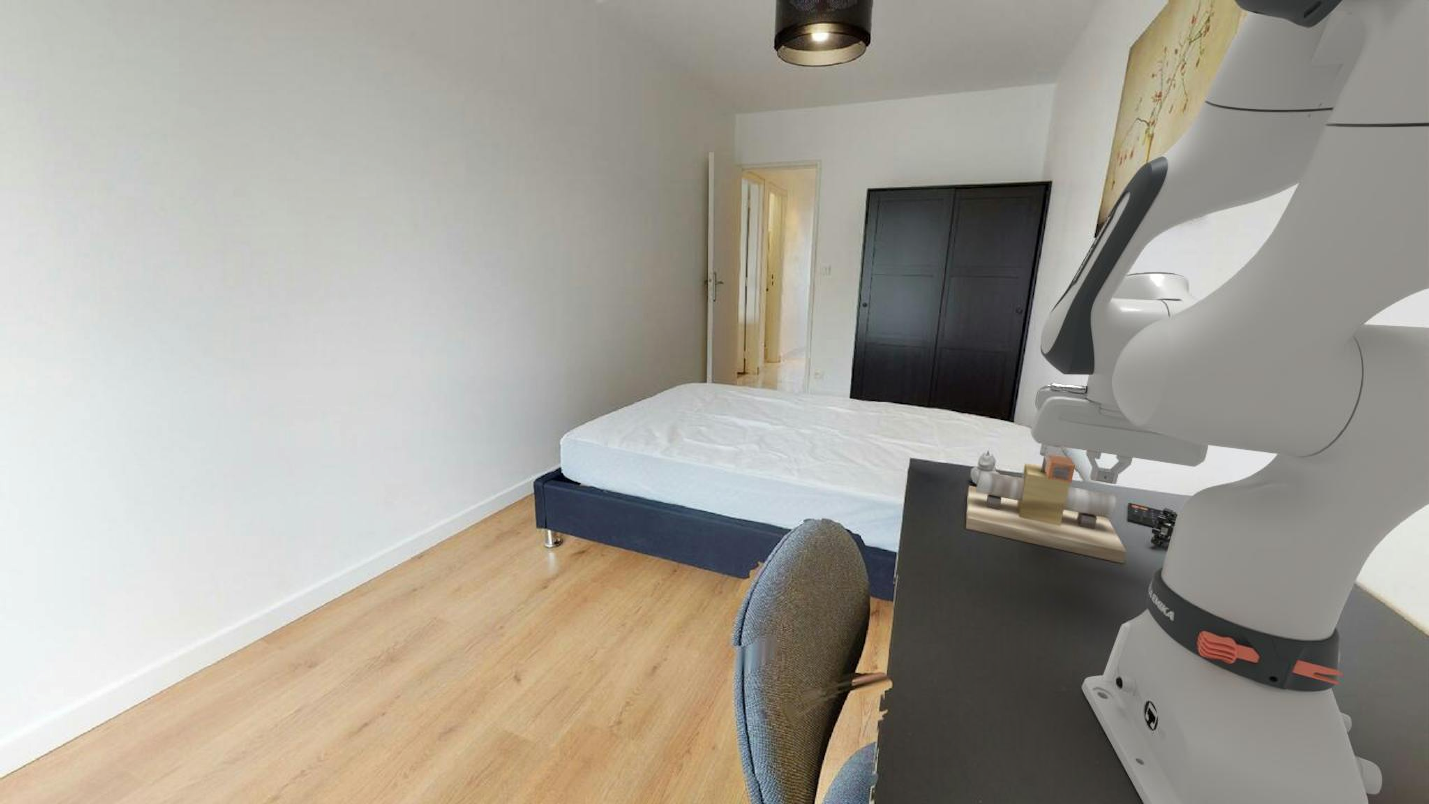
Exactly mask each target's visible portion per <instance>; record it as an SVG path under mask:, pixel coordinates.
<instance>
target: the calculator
mask: <svg viewBox="0 0 1429 804" xmlns="http://www.w3.org/2000/svg"><path fill="white" fill-rule="evenodd" d="M1162 512H1163V510H1162V509H1156V508H1153V507H1149V506H1144V505H1141V504H1136V503H1132V502H1128V504H1127V515H1126V521H1127V523H1131V524H1135V525H1139V526H1142V527H1147V528H1151V529H1153V528H1154V527H1156V526H1157V523H1158V522H1157V521H1156V520H1157V517H1158V515H1161V516H1162V515H1163V514H1162ZM1177 515H1178V513H1176V516H1175V517H1172V516H1171V519H1174V520H1176V519H1177ZM1164 523H1165V522H1164Z"/></svg>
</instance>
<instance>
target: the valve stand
mask: <svg viewBox="0 0 1429 804" xmlns="http://www.w3.org/2000/svg"><path fill="white" fill-rule="evenodd" d="M1045 467H1046V460H1045V458H1044V457H1043V461H1042V464H1041V465H1037V464H1032V463H1024V466H1023V471H1022V472H1023V473H1022V477H1017V476H1011V475H1008V474H1007V475H1005V474H1000V473H999V474H996V473H990V472H984V471H979V475H978V481H977V484H976V486H972V485H968V490H967V496H966V498H967V499H966V500H967V501H966V519H965V520H966V521H965V523H966V524H965V528H966V530H970V531H975V532H981V533H985V534H989V535H994V536H999V537H1002V538H1007V539H1011V540H1016V541H1019V542H1020V541H1021V542H1025V543H1030V544H1034V545H1037V546H1038V545H1039V546H1042V547H1043V546H1044V547H1047V548H1052V549H1056V550H1061V551H1065V552H1070V553H1074V554H1079V555H1084V556H1088V557H1093V558H1096V559H1103V560H1107V561H1110V562H1114V563H1119V564H1124V563H1125V561H1126V557H1127V550H1126V549H1125V547H1124V544H1123V542H1122V541H1121V539H1120V537H1119V536H1118V533H1116V530H1115V529H1114V527H1113V524H1111V522H1110V520H1112V519H1113V518H1114V516H1115V514H1116V509H1117V497H1116V495H1115V493H1114V494H1112V493H1108V492H1101V491H1096V490H1090V489H1085V488H1078V487H1073V486H1070V484H1071V483H1070V482H1065V481H1059V480H1053V479H1048V478H1047V475H1046V472H1045ZM1109 519H1110V520H1109Z"/></svg>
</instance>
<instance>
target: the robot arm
mask: <svg viewBox="0 0 1429 804" xmlns="http://www.w3.org/2000/svg"><path fill="white" fill-rule="evenodd" d="M1234 2H1235V3H1236V4H1237V6H1238V7H1239V9H1242V10H1243V11H1246V12H1247V15H1246V17H1245V18H1244V20H1243V22H1242V23H1241V24H1240V27H1239V28H1238V30H1237V32H1236V34H1235V35H1234V38H1233V39H1232V41H1231V42H1230V45H1229V47H1228V49H1227V51H1226V53H1225V54H1224V56H1223V58H1222V61H1221V63H1220V64H1219V67H1218V69H1217V70H1216V73H1215V75H1214V77H1213V80H1212V82H1211V84H1210V86H1209V89H1208V91H1207V93H1206V96H1205V99H1204V101H1203V103H1202V105H1201V107H1200V108H1199V109H1200V110H1199V111H1198V113H1197V115H1196V116H1195V117H1194V120H1193V121H1192V123H1191V124H1190V125H1189V127H1188V128H1187V130H1185V132H1184V133H1182V135H1181V137H1179V139H1178V140H1177V141H1176V142H1175V143H1174V144H1173V145H1172V146H1171V147H1170V148H1169V149H1168V150H1167V151H1166V152H1165V153H1163V154H1162V155H1161V156H1159V157H1157V158H1155V159H1153V160H1151V161H1148V162H1146V163H1144V164H1143V165H1142V166H1141V167H1140V168H1139V169H1137V171H1136V173H1135V174H1134V175H1133V176H1132V178H1131V179H1130V180H1129V182H1128V183H1127V184H1126V186H1125V187H1124V189H1123V191H1122V193H1121V194H1120V196H1119V197H1118V199H1117V200H1116V201H1115V204H1114V206H1113V207H1112V209H1111V211H1110V212H1109V214H1108V215H1107V217H1106V218H1105V221H1104V222H1103V224H1102V227H1101V228H1100V230H1099V232H1098V234H1097V235H1096V237H1095V238H1094V241H1093V242H1092V244H1091V246H1090V248H1089V250H1088V251H1087V253H1086V255H1085V257H1084V258H1083V261H1082V262H1081V264H1080V265H1079V267H1078V269H1077V271H1076V273H1075V275H1074V276H1073V278H1072V280H1071V282H1070V283H1069V285H1068V287H1067V288H1066V290H1065V291H1064V292H1063V295H1062V296H1061V297H1060V298H1059V299H1058V301H1057V302H1056V304H1054V307H1053V308H1052V310H1051V311H1050V313H1049V315H1048V317H1047V318H1046V320H1045V322H1044V325H1043V326H1042V327H1043V328H1042V331H1041V336H1040V353H1041V355H1042V356H1043V358H1044V359H1045V360H1046V361H1047V362H1048V363H1049V364H1050V365H1051V366H1052V367H1053V368H1055V369H1056V370H1057V371H1059V373H1060V374H1061V373H1062V375H1067V376H1068V375H1071V376H1073V375H1076V376H1077V375H1079V376H1081V375H1082V376H1088V378H1087V382H1086V385H1085V386H1084V385H1076V384H1062V383H1058V382H1057V383H1056V382H1053V383H1052V382H1051V383H1050V384H1048V385H1044V386H1042V387H1040V388H1039V389H1038V390H1037V392H1036V397H1035V401H1034V404H1035V407H1036V409H1037V410H1036V412H1035V416H1034V418H1033V422H1032V426H1031V430H1030V435H1031V437H1032V439H1033V440H1034V441H1035V443H1037V444H1041V445H1042V444H1047V445H1054V446H1060V447H1063V448H1067V449H1075V450H1080V451H1081V450H1082V451H1086V452H1085V455H1086V457H1087V460H1088V461H1089V464H1090V465H1091V471H1090V474H1089V475H1090V477H1089V478H1090V479H1091V481H1094V482H1099V483H1105V484H1111V485H1112V484H1113V485H1117V481H1118V477H1119V475H1120V474H1121V473H1123V472H1124V471H1125V470H1126V469H1128V467H1130V466H1131V465H1132V462H1133V459H1134V458H1135V459H1139V460H1140V459H1142V460H1147V461H1155V462H1158V463H1159V462H1160V463H1167V464H1173V465H1180V466H1187V467H1197V466H1199V465H1200V464H1202V463H1203V462H1205V461H1206V458H1207V455H1208V450H1209V446H1212V447H1213V446H1214V447H1220V448H1221V447H1222V448H1228V449H1237V450H1244V451H1252V452H1259V453H1269V454H1276V455H1275V457H1274V458H1273V459H1272V460H1271V461H1270V462H1269V463H1267V464H1266V465H1265V466H1264V467H1262V468H1261V469H1259V470H1258V471H1257V472H1255V473H1252V474H1251V475H1249V476H1247V477H1245V478H1242V479H1239V480H1235V481H1233V482H1227V483H1222V484H1217V485H1213V486H1209V487H1206V488H1203V489H1201V490H1199V491H1197V492H1196V493H1194V494H1193V495H1191V496H1190V497H1189V498H1187V500H1185V502H1183V504H1182V505H1181V506H1180V508H1179V510H1178V512H1177V514H1178V515H1177V519H1176V522H1175V526H1174V529H1173V533H1172V536H1171V540H1170V542H1168V543H1169V544H1168V547H1167V551H1166V556H1165V558H1164V562H1163V565H1162V566H1161V567H1160V568H1158V569H1157V570H1156V572H1155V573H1154V576H1153V579H1151V581H1150V583H1149V587H1148V596H1147V598H1146V609H1145V610H1144V611H1143V612H1142V613H1140V614H1139V615H1138V616H1136V617H1134V618H1132V619H1130V620H1128V621H1126V622H1125V623H1122V624H1121V625H1120V628H1119V631H1118V633H1117V636H1116V638H1115V641H1114V644H1113V647H1112V649H1111V652H1110V655H1109V658H1108V660H1107V664H1106V666H1105V669H1104V671H1103V674H1102V675H1092V676H1087V677H1085V679H1084V681H1083V682H1082V685H1081V691H1082V692H1083V694H1084V697H1085V698H1086V700H1087V701H1088V703H1089V705H1090V707H1091V709H1092V711H1093V713H1094V714H1095V717H1096V718H1097V720H1098V722H1099V724H1100V725H1101V727H1102V729H1103V732H1105V734H1106V736H1107V738H1108V741H1109V743H1110V744H1111V745H1112V748H1113V750H1114V752H1115V753H1116V756H1117V757H1118V759H1119V761H1120V763H1121V765H1122V766H1123V768H1124V770H1125V771H1126V773H1127V775H1128V777H1129V779H1130V780H1131V782H1132V785H1133V787H1134V789H1135V790H1136V792H1137V793H1138V796H1139V797H1140V799H1141V801H1142V803H1143V804H1369V798H1368V795H1378V794H1379V793H1380V791H1381V789H1382V787H1383V775H1382V771H1381V770H1380V769H1381V768H1380V767H1379V766H1378V765H1377V764H1376V763H1374V762H1372V761H1370V760H1367V759H1364V758H1362V757H1359V756H1357V755H1355V753H1354V750H1353V747H1352V745H1351V741H1350V737H1349V734H1348V733H1349V732H1351V729H1352V718H1351V717H1350V715H1348V714H1346V713H1344V712H1341V711H1340V709H1339V705H1338V704H1337V700H1336V698H1335V694H1334V692H1333V687H1335V686H1336V685H1339V682H1338V676H1342V675H1343V673H1342V672H1341V671H1340V670H1338V667H1339V664H1338V663H1340V662H1341V650H1340V649H1339V647H1340V633H1339V630H1338V629H1337V627H1336V626H1337V624H1338V621H1339V619H1340V616H1341V614H1342V611H1343V609H1344V607H1345V605H1346V602H1347V600H1348V598H1349V596H1350V593H1351V591H1352V589H1353V588H1354V584H1355V583H1356V580H1357V579H1358V577H1359V575H1360V573H1361V571H1362V569H1363V567H1364V565H1365V563H1366V562H1367V561H1368V559H1369V557H1370V555H1371V554H1372V552H1373V551H1374V550H1376V547H1377V546H1378V545H1379V544H1380V543H1381V542H1382V541H1383V540H1384V539H1385V538H1386V537H1387V536H1388V535H1389V534H1390V533H1391V532H1392V531H1393V530H1394V529H1395V528H1397V527H1398V526H1399V525H1400V524H1401V523H1403V522H1404V521H1406V520H1407V519H1409V518H1410V517H1411V516H1413V515H1414V514H1415V513H1417V512H1419V511H1420V510H1421V509H1423V508H1425V507H1426V506H1428V505H1429V327H1424V326H1422V327H1421V326H1406V325H1405V326H1404V325H1403V326H1402V325H1389V324H1388V325H1386V324H1385V325H1383V324H1370V323H1369V324H1366V323H1367V322H1368V321H1370V320H1371V319H1372V318H1374V317H1375V316H1376V315H1378V314H1379V313H1381V312H1382V311H1384V310H1385V309H1387V308H1389V307H1391V306H1392V305H1394V304H1396V303H1398V302H1400V301H1402V300H1404V299H1405V298H1408V297H1409V296H1412V295H1415V294H1417V293H1419V292H1422V291H1425V290H1427V289H1429V0H1234ZM1296 185H1297V186H1296ZM1294 186H1296V188H1295V190H1294V192H1293V194H1292V196H1291V197H1290V200H1289V202H1288V204H1287V206H1286V208H1285V209H1284V211H1283V213H1282V214H1281V217H1280V219H1279V220H1278V222H1277V224H1276V226H1275V227H1274V229H1273V231H1272V232H1271V233H1270V235H1269V236H1268V238H1267V239H1266V241H1265V242H1264V243H1263V244H1262V245H1261V246H1260V248H1259V249H1258V250H1257V251H1256V253H1255V254H1254V255H1253V257H1251V258H1250V259H1249V260H1248V261H1247V263H1246V264H1244V265H1243V266H1242V267H1241V268H1240V269H1239V270H1238V271H1237V272H1235V274H1234V275H1233V276H1231V278H1229V279H1228V280H1227V281H1225V282H1224V283H1223V284H1222V285H1221V286H1219V287H1218V288H1217V289H1215V290H1214V291H1212V292H1211V293H1209V294H1208V295H1206V296H1205V297H1203V298H1202V299H1197V298H1196V297H1195V296H1194V295H1192V294H1191V293H1190V290H1189V289H1190V287H1189V280H1188V278H1187V277H1186V276H1184V275H1181V274H1178V273H1177V274H1176V273H1173V272H1161V271H1149V272H1148V271H1147V272H1140V273H1139V272H1136V273H1130V271H1131V269H1132V268H1133V266H1134V265H1135V263H1136V261H1137V260H1138V258H1139V257H1140V255H1141V253H1142V252H1143V251H1144V249H1145V248H1146V246H1147V245H1148V244H1149V243H1151V242H1152V241H1153V240H1154V239H1155V238H1157V237H1158V236H1160V235H1161V234H1163V233H1165V232H1166V231H1168V230H1170V229H1172V228H1175V227H1177V226H1180V225H1181V224H1184V223H1186V222H1189V221H1190V222H1191V221H1192V220H1194V219H1198V218H1200V217H1203V216H1207V215H1210V214H1214V213H1217V212H1220V211H1224V210H1228V209H1232V208H1237V207H1241V206H1245V205H1248V204H1252V203H1255V202H1256V203H1257V202H1259V201H1262V200H1264V199H1267V198H1270V197H1272V196H1275V195H1278V194H1279V193H1282V192H1285V191H1286V190H1288V189H1291V188H1292V187H1294ZM1129 273H1130V274H1129ZM1102 454H1108V455H1115V456H1116V457H1115V458H1116V459H1117V462H1116V463H1115V464H1114V465H1113V466H1112V467H1111V468H1107V467H1106V468H1105V467H1100V466H1099V465H1098V463H1097V460H1100V459H1101V456H1102ZM1367 794H1368V795H1367Z"/></svg>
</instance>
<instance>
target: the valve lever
mask: <svg viewBox="0 0 1429 804" xmlns="http://www.w3.org/2000/svg"><path fill="white" fill-rule="evenodd" d="M1063 448H1064V447H1060V446H1054V445H1047V444H1041V445H1040V450H1039V455H1040V456H1043V459H1044V458H1045V460H1046V467H1045V472H1046V475H1047V478H1048V479H1053V480H1059V481H1065V482H1070V484H1071V483H1072V481H1073V477H1074V472H1075V467H1076V466H1075V464H1074V462H1073V460H1072V458H1070V457H1066V456H1065V454H1064V452H1063Z"/></svg>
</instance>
